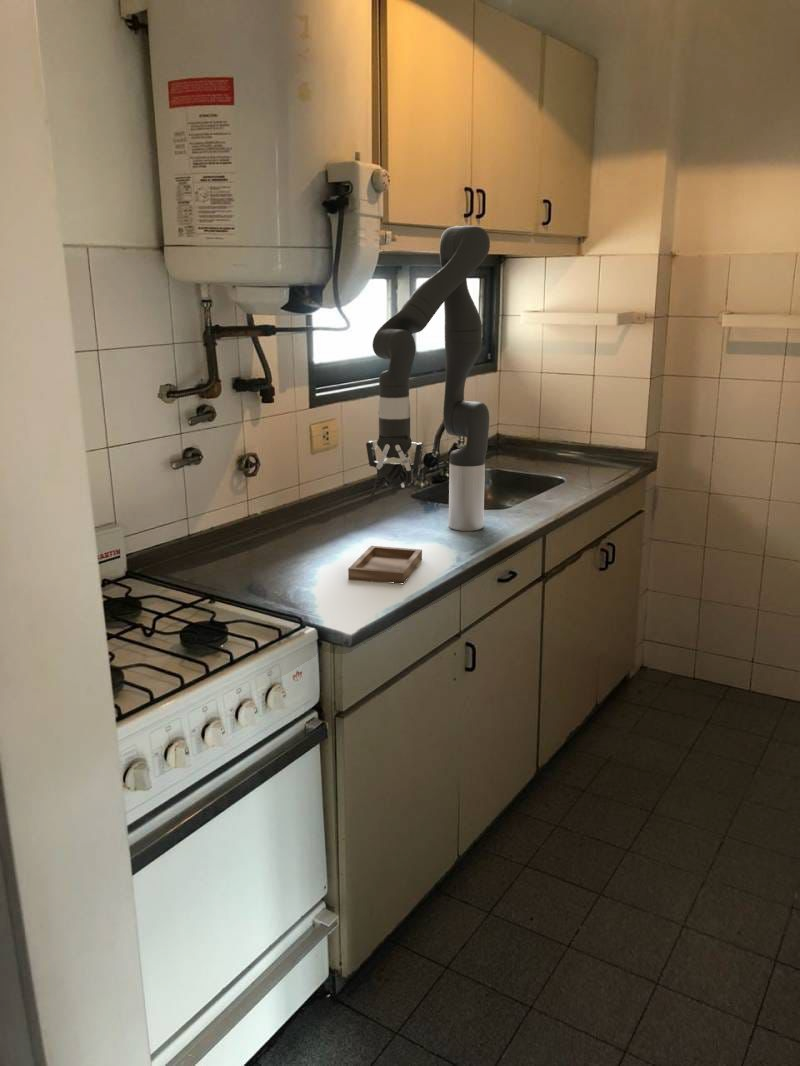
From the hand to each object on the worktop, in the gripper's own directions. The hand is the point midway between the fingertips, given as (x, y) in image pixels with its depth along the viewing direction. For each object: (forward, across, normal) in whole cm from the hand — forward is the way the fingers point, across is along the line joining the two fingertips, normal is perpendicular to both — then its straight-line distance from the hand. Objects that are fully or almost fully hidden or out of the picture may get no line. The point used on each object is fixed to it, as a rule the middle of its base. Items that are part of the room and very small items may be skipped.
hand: (394, 484), depth 206 cm
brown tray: (+15, -3, +18) cm, 24 cm away
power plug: (+1, +1, +4) cm, 4 cm away
